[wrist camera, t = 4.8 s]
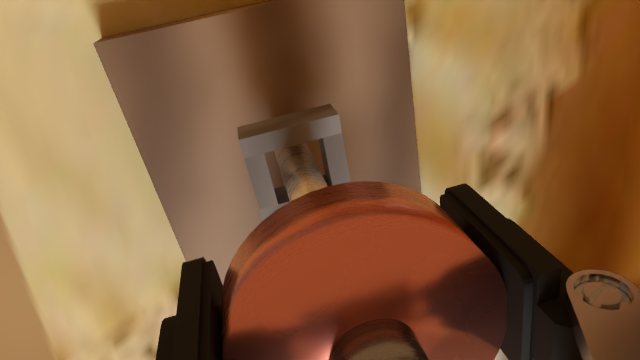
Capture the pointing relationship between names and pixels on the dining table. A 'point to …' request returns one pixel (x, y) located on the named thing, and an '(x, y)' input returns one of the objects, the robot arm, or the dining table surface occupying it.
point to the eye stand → (263, 108)
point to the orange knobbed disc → (359, 277)
